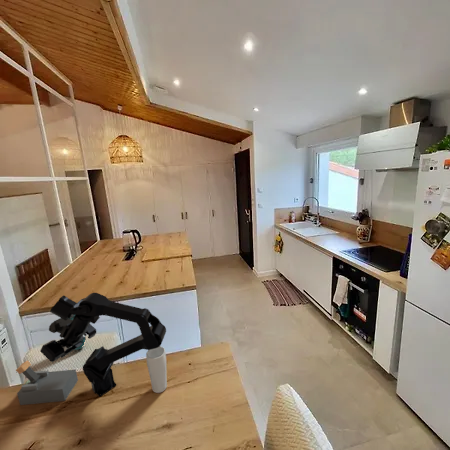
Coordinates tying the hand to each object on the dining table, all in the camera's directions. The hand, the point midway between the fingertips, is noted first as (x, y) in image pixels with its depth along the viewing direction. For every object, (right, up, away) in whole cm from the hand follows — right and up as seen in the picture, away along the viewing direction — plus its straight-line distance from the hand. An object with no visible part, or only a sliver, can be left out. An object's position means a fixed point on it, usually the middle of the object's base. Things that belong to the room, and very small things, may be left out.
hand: (61, 356), depth 92 cm
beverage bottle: (-8, -9, +25) cm, 28 cm away
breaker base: (-5, -14, +2) cm, 15 cm away
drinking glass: (+36, -12, +1) cm, 38 cm away
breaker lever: (-10, -8, 0) cm, 13 cm away
